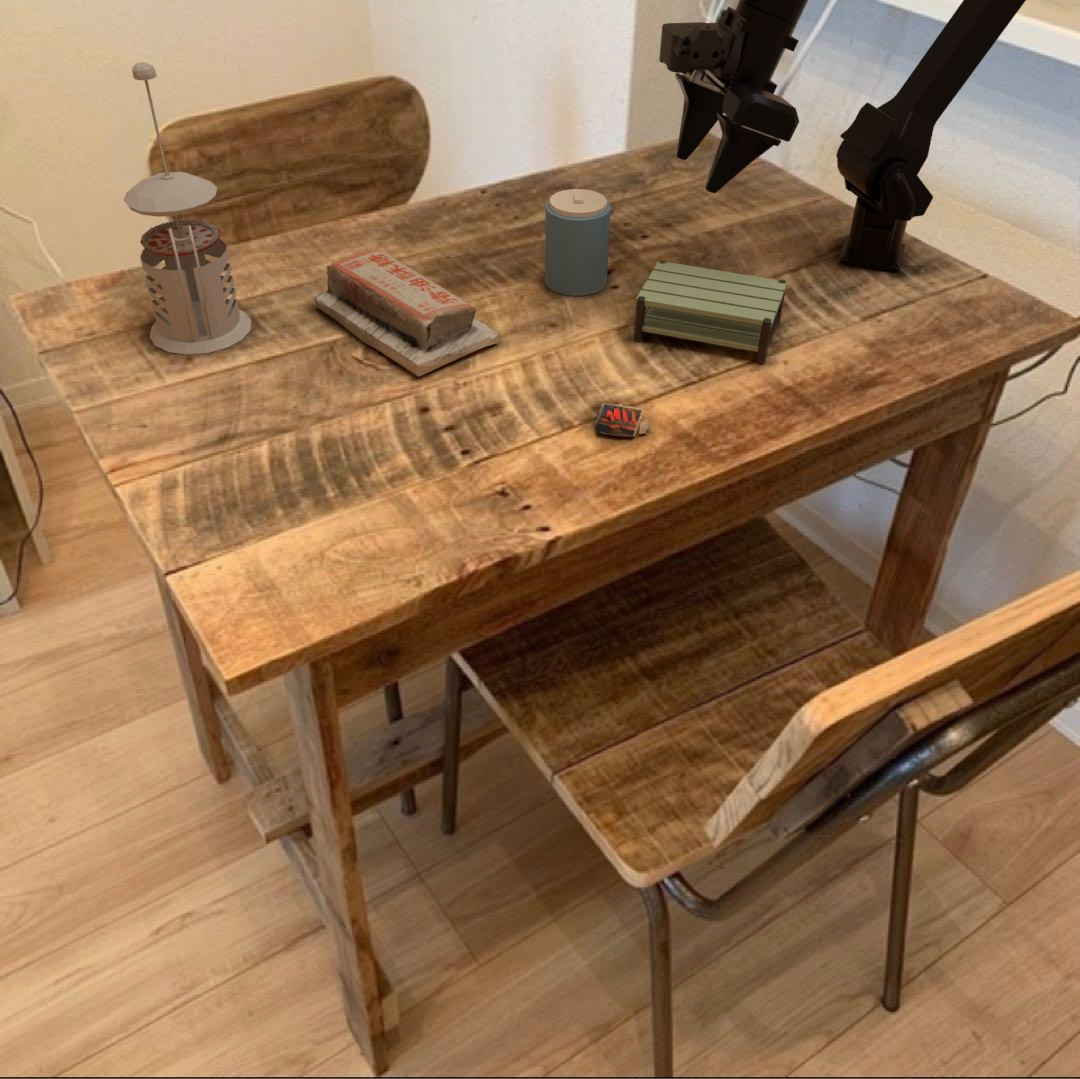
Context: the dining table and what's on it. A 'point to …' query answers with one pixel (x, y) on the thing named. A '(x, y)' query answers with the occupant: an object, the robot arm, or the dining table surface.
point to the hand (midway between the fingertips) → (694, 174)
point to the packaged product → (401, 312)
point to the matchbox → (620, 420)
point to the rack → (710, 307)
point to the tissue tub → (577, 242)
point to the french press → (185, 260)
